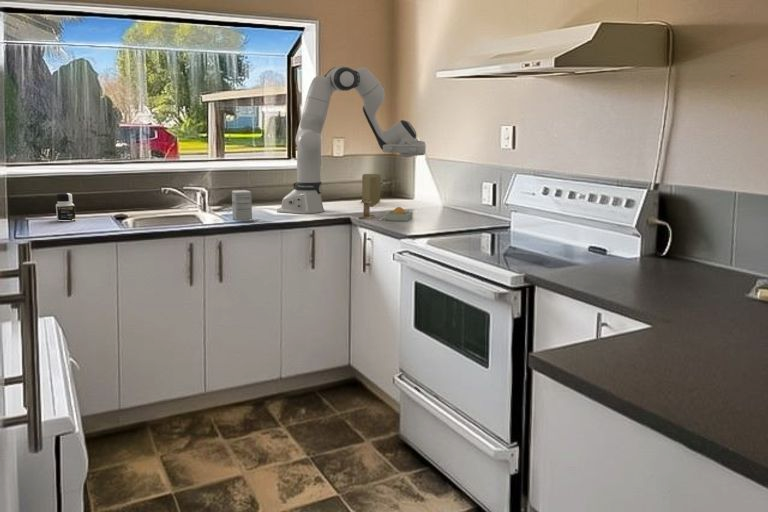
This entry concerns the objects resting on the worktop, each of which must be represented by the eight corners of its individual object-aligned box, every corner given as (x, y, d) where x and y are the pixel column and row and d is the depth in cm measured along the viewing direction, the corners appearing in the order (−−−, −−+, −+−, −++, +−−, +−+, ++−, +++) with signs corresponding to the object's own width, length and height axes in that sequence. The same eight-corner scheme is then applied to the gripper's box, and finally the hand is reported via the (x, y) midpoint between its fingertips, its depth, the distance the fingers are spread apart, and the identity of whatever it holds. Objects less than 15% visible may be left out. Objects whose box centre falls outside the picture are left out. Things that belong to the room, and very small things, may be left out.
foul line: (377, 220, 328) (377, 220, 328) (384, 216, 340) (384, 216, 340) (379, 220, 327) (379, 220, 327) (386, 216, 340) (386, 216, 340)
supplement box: (232, 218, 332) (231, 190, 330) (248, 217, 335) (247, 189, 332) (235, 221, 325) (234, 192, 323) (252, 220, 328) (251, 191, 326)
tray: (384, 220, 328) (384, 213, 328) (390, 217, 338) (390, 210, 337) (407, 221, 326) (407, 214, 325) (412, 218, 336) (412, 211, 335)
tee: (358, 218, 334) (358, 199, 332) (362, 216, 339) (361, 198, 338) (371, 219, 332) (371, 200, 331) (374, 217, 338) (374, 198, 336)
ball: (391, 218, 330) (392, 207, 329) (394, 217, 335) (395, 206, 334) (402, 219, 329) (403, 208, 328) (405, 217, 334) (405, 206, 333)
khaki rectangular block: (380, 207, 373) (381, 177, 370) (361, 207, 373) (361, 177, 370) (380, 201, 395) (380, 173, 392) (362, 201, 395) (362, 173, 392)
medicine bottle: (58, 222, 320) (55, 194, 317) (56, 220, 326) (54, 192, 324) (76, 221, 323) (73, 193, 321) (74, 219, 329) (72, 192, 327)
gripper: (386, 141, 357) (379, 142, 344) (428, 141, 353) (422, 142, 339) (386, 154, 359) (379, 156, 346) (427, 155, 354) (422, 156, 341)
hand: (401, 149), depth 342 cm, fingers open, 8 cm apart
